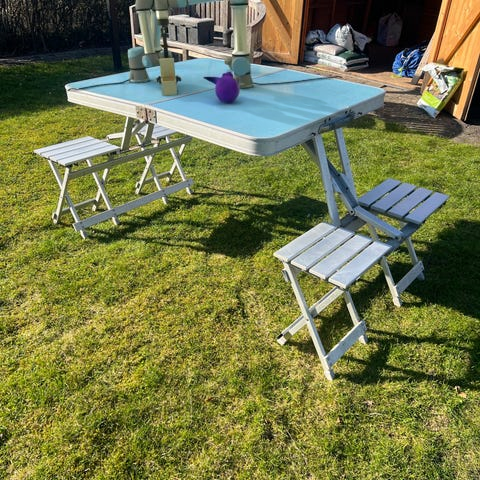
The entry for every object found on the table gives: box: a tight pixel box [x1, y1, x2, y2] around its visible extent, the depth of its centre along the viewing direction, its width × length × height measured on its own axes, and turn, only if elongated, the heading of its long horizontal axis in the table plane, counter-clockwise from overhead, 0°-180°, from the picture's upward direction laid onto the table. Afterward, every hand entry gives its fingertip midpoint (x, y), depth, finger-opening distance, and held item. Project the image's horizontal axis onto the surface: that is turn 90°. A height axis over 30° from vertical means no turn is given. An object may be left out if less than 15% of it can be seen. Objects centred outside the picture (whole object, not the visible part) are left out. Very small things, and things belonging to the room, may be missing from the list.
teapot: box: [223, 56, 233, 71], centre depth 368 cm, size 21×12×15 cm, turn 120°
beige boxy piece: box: [159, 55, 176, 78], centre depth 299 cm, size 14×10×8 cm
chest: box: [161, 77, 178, 97], centre depth 300 cm, size 13×10×9 cm
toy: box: [203, 71, 241, 104], centre depth 277 cm, size 16×18×27 cm
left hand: (168, 82), depth 302 cm, fingers closed on chest, 9 cm apart
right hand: (166, 57), depth 297 cm, fingers open, 5 cm apart
